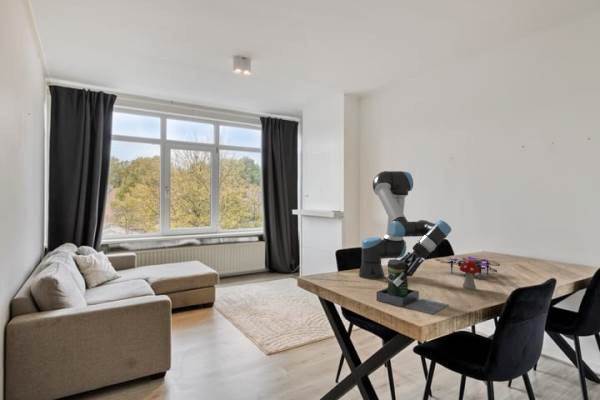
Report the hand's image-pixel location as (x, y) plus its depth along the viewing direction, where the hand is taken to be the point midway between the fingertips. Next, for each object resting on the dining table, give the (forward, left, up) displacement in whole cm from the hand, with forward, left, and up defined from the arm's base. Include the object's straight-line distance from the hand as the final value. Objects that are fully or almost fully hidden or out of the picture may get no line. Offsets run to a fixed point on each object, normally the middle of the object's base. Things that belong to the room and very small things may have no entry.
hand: (391, 281), depth 155 cm
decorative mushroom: (+19, +46, -9) cm, 51 cm away
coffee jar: (+2, +2, -9) cm, 9 cm away
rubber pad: (+16, +3, -9) cm, 19 cm away
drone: (+10, +81, -9) cm, 82 cm away
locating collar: (+2, +2, -9) cm, 9 cm away
